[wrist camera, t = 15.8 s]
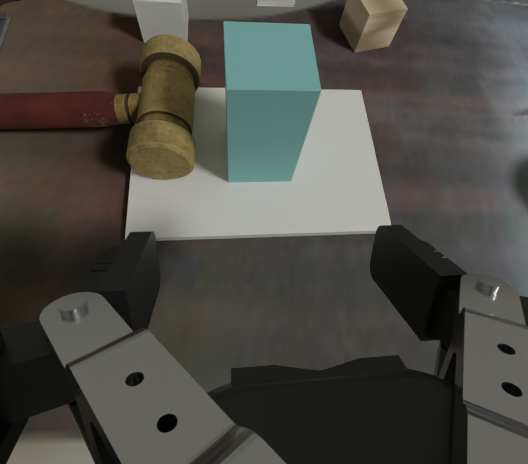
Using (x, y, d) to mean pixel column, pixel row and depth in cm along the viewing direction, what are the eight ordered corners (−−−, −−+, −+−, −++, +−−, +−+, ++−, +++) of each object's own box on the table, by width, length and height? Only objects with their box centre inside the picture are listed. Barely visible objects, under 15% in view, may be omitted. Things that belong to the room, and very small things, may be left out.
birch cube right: (354, 53, 33) (369, 14, 29) (338, 25, 34) (351, -15, 31) (388, 46, 34) (407, 8, 30) (372, 20, 35) (388, -20, 31)
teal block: (228, 182, 26) (226, 89, 17) (226, 130, 27) (223, 21, 19) (291, 181, 26) (321, 90, 17) (285, 130, 28) (309, 24, 19)
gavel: (-142, 151, 21) (-85, 39, 24) (-72, 186, 25) (-32, 86, 29) (185, 143, 21) (194, 31, 24) (199, 180, 25) (205, 80, 29)
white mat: (127, 241, 24) (124, 238, 23) (140, 91, 29) (138, 86, 28) (388, 232, 26) (392, 230, 25) (358, 94, 31) (360, 90, 30)
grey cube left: (144, 43, 31) (132, 0, 27) (147, 14, 32) (136, -31, 29) (187, 45, 31) (181, 2, 28) (188, 16, 33) (182, -28, 29)
